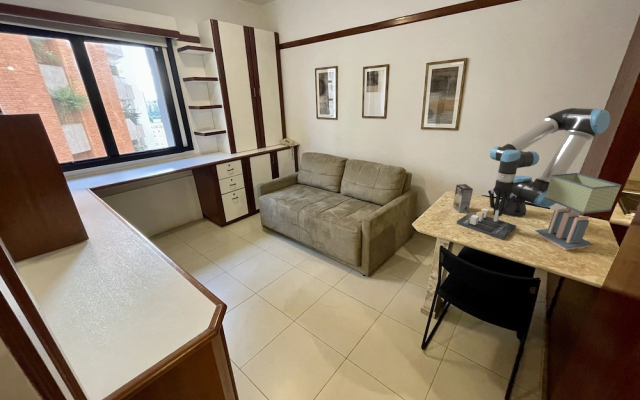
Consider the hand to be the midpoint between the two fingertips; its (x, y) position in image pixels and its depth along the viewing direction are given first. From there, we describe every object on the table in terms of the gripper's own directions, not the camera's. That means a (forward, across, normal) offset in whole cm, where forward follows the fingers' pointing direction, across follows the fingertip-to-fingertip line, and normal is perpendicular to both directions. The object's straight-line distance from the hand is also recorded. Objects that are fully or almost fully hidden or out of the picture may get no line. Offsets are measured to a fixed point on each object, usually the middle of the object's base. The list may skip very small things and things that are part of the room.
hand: (495, 220), depth 141 cm
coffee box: (+5, -24, +11) cm, 27 cm away
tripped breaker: (+2, -8, -1) cm, 8 cm away
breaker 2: (+2, -8, +6) cm, 10 cm away
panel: (+5, -4, -1) cm, 7 cm away
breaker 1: (+2, -8, -7) cm, 11 cm away
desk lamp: (+6, +27, +10) cm, 29 cm away
